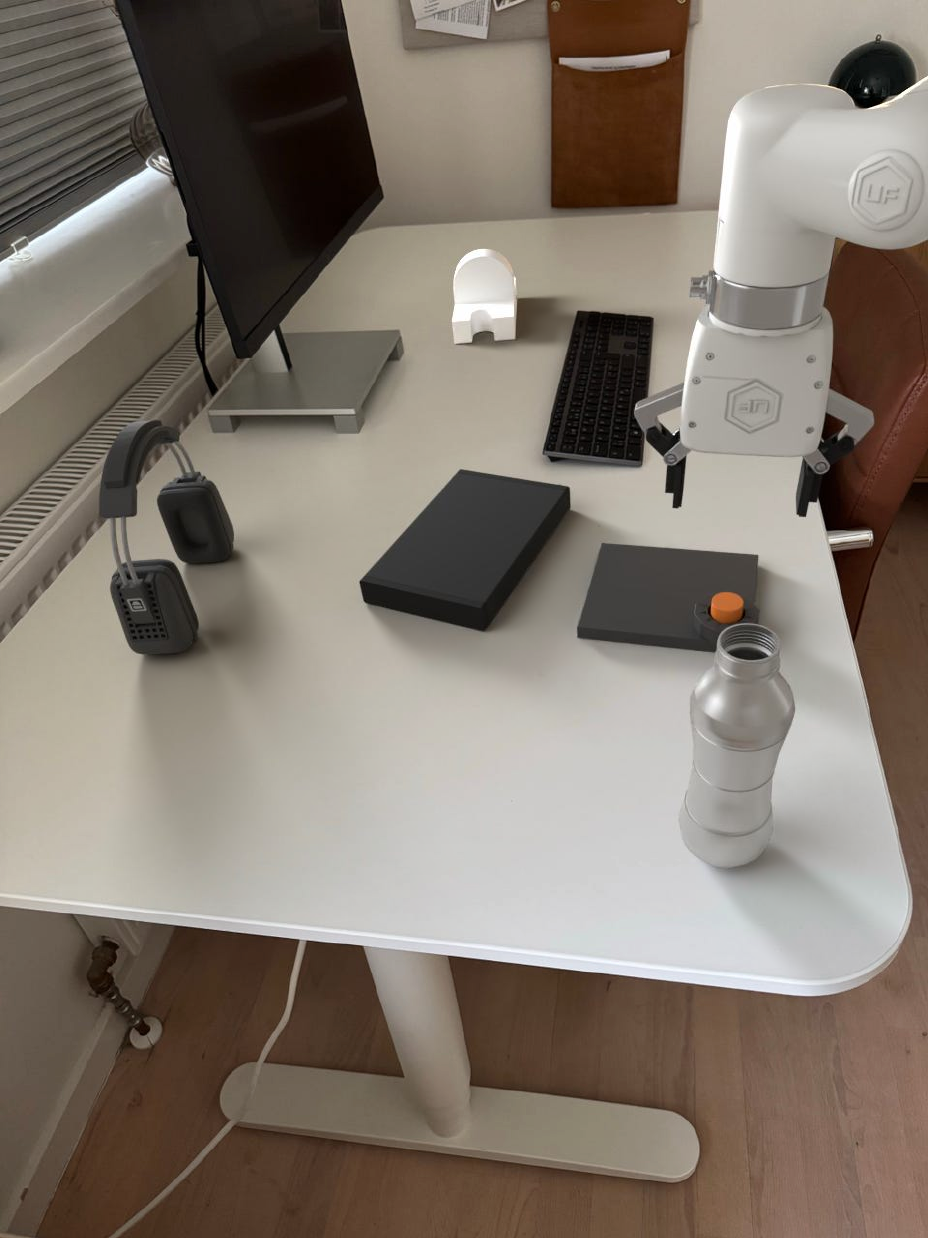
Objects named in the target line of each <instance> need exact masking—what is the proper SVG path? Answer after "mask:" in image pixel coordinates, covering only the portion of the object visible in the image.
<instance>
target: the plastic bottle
mask: <svg viewBox="0 0 928 1238" xmlns="http://www.w3.org/2000/svg"><path fill="white" fill-rule="evenodd" d="M781 649H782V647H781V641H780V638H779V635H777V634H776V632H774V631H773V630H772V629H770V628H769V627H767V626H764V625H761V624H759V623H758V624H752V623H742V624H736V625H732V626H730V627H728V628H726V629H725V630H723V631H722V632H721V634H720V635H719V638H718V641H717V650H716V652H714V656H713V665H712V666H711V667H709V669H707V670H706V671H705V672H704V673H703V674H701V676H699V678H698V680H697V681H696V683H695V685H694V686H693V689H692V690H691V693H690V696H689V715H690V716H689V717H690V727H691V736H692V744H693V745H692V768H691V773H690V776H689V781H688V785H687V789H686V791H685V793H684V795H683V798H682V801H681V805H680V808H679V811H678V817H677V818H678V826H679V833H680V836H681V840H682V841H683V844H684V846H685V847H686V848H687V850H688V852H690V853H691V854H692V855H693V856H694V857H696V858H697V859H699V860H700V861H702V862H703V863H705V864H708V865H710V866H713V867H717V868H724V869H725V868H726V869H727V868H736V867H741V866H745V865H747V864H749V863H752V862H753V861H755V860H757V859H758V858H759V857H760V856H761V855H762V853H763V852H764V851H765V849H766V847H767V845H768V844H769V841H770V840H771V837H772V835H773V832H774V831H773V830H774V813H773V812H774V810H773V804H772V795H773V778H774V774H775V771H776V767H777V763H778V760H779V756H780V753H781V751H782V748H783V745H784V743H785V741H786V739H787V737H788V734H789V731H790V729H791V727H792V724H793V720H794V717H795V714H796V702H795V697H794V694H793V689H792V687H791V685H790V684H789V682H788V681H787V679H786V678H785V677H784V676H783V675H782V673H781V672H780V667H781V657H780V655H781Z"/></svg>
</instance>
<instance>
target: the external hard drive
mask: <svg viewBox="0 0 928 1238" xmlns="http://www.w3.org/2000/svg"><path fill="white" fill-rule="evenodd" d="M570 509H571V488H570V486H567V485H562V484H555V483H550V482H544V481H537V480H531V479H525V478H518V477H512V476H506V475H501V474H500V475H499V474H494V473H488V472H481V471H475V470H469V469H462V468H460V469H459V470H457V472H456V473H455V474H454V475H453V476H452V478H451V479H450V480H449V481H447V483H446V484H445V485H444V486H443V488H442V489H441V490H440V491H439V492H438V493H437V494H436V495H435V496H434V497H433V499H432V500H431V501H429V503H428V504H427V505H426V506H425V508H424V509H422V511H421V512H420V513H419V514H418V515H417V517H416V518H415V519H414V520H413V521H412V522H411V523H410V524H409V525H408V527H407V528H406V529H405V530H404V531H403V532H402V533H401V534H400V536H398V538H397V539H395V541H394V542H393V543H392V544H391V545H390V547H388V549H387V550H386V551H385V552H384V553H383V554H382V556H380V558H379V559H378V560H376V562H375V563H374V564H373V566H371V568H370V569H369V570H368V571H367V572H366V573H365V574H364V575H363V577H362V578H361V579H360V580H359V581H358V582H359V587H360V592H361V596H362V601H363V603H365V604H366V605H367V604H368V605H372V606H376V607H379V608H384V609H388V610H393V611H397V612H401V613H405V614H409V615H413V616H417V617H422V618H426V619H430V620H434V621H437V622H442V623H446V624H450V625H453V626H459V627H462V628H467V629H471V630H475V631H479V632H486V630H487V629H488V627H490V625H491V623H492V621H493V620H494V618H495V617H496V616H497V614H498V613H499V611H500V610H501V608H502V607H503V605H504V604H505V603H506V601H507V600H508V598H509V597H510V596H511V595H512V592H513V591H514V589H516V587H517V585H518V584H519V582H520V581H521V580H522V578H523V577H524V575H525V574H526V572H527V571H528V570H529V568H530V566H531V565H532V564H533V562H534V561H535V559H536V558H537V556H539V554H540V552H541V551H542V549H543V548H544V546H545V545H546V544H547V543H548V541H549V539H550V538H551V536H552V535H553V534H554V532H555V530H557V528H558V526H559V525H560V523H561V522H562V520H563V519H564V518H565V516H566V515H567V514H568V512H569V510H570Z"/></svg>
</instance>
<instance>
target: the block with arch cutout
mask: <svg viewBox="0 0 928 1238" xmlns="http://www.w3.org/2000/svg"><path fill="white" fill-rule="evenodd" d="M455 269H456V270H455V273H454V277H453V285H452V286H453V289H452V291H453V298H454V299H453V300H454V308H453V314H452V317H451V325H452V326H451V327H452V335H453V343H454V345H455V344H456V345H457V344H469V343H471V344H472V343H473V338H474V336H475V334H477V333H481V332H492V333H493V339H494V342H495V341H496V342H497V341H509V340H516V329H517V313H518V312H517V311H518V298H517V299H516V295H517V296H518V291H517V290H518V289H517V278H516V276H515V275H514V272H513V271H514V270H513V268H512V265H511V264H510V262H509V260H508V259H507V258H506V257H505V256H504V255H503V254H501V253H500V252H499V251H496V250H493V249H490V248H479V249H475V250H473V251H471V252H468V253H467V254H466V255H464V256H463V257H462V258H461V260H460V261H459V263H458V264H457V266H456V268H455ZM483 325H485V326H483ZM487 325H489V326H487Z"/></svg>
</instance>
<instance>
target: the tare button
mask: <svg viewBox="0 0 928 1238" xmlns="http://www.w3.org/2000/svg"><path fill="white" fill-rule="evenodd" d="M743 604H744V602H743V599H742V598H741V597H740V596H739V595H737V594H734V593H730V592H722V593H719V594H716V595H715V596H714V597H713V598H712V603H711V616H712V618H713V619H714V620H716V621H718V622H720V623H728V624H731V623H735V622H738V621H739V620H740V619H741V617H742V613H743Z"/></svg>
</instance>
